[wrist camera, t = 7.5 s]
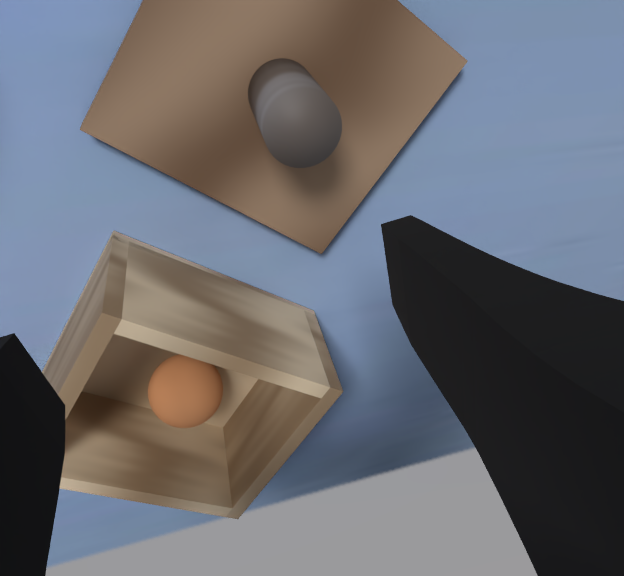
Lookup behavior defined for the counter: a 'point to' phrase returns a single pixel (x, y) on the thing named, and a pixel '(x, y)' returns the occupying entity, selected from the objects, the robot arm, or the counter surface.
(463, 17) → the counter surface
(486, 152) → the counter surface
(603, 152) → the counter surface
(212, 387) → the ball
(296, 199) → the lid
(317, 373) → the box
